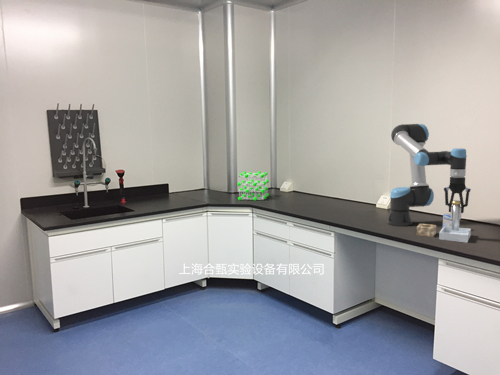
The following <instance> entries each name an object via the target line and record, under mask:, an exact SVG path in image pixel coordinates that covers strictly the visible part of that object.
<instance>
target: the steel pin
mask: <svg viewBox="0 0 500 375" xmlns="http://www.w3.org/2000/svg"><path fill="white" fill-rule="evenodd" d="M452 206H453V214H452V230H459V228H460V219H459V210H460V207H461V202H460V200H455V199H453V201H452Z"/></svg>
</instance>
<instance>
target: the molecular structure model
mask: <svg viewBox="0 0 500 375" xmlns="http://www.w3.org/2000/svg"><path fill="white" fill-rule="evenodd" d="M237 177H238V178H244V179H242V180H238V182H237V186H238V188H239V189H238V193H239V195H240V196H239V197H237V200H238V201H242V200H243V199H246V200H253V201H257V200H258V199H261V200H262V201H264V200H266V199H267V197H270V193H269V192H268V190H269V187H268V186H267V184H268V183H270V180H269V179H268V172H267V171H266V172H261V171H257V172H252V171H251V172H247V171H243V172H240V173H239V174H238V175H237ZM252 178H253V179H252ZM260 178H261V179H260ZM255 194H256V195H255Z"/></svg>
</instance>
